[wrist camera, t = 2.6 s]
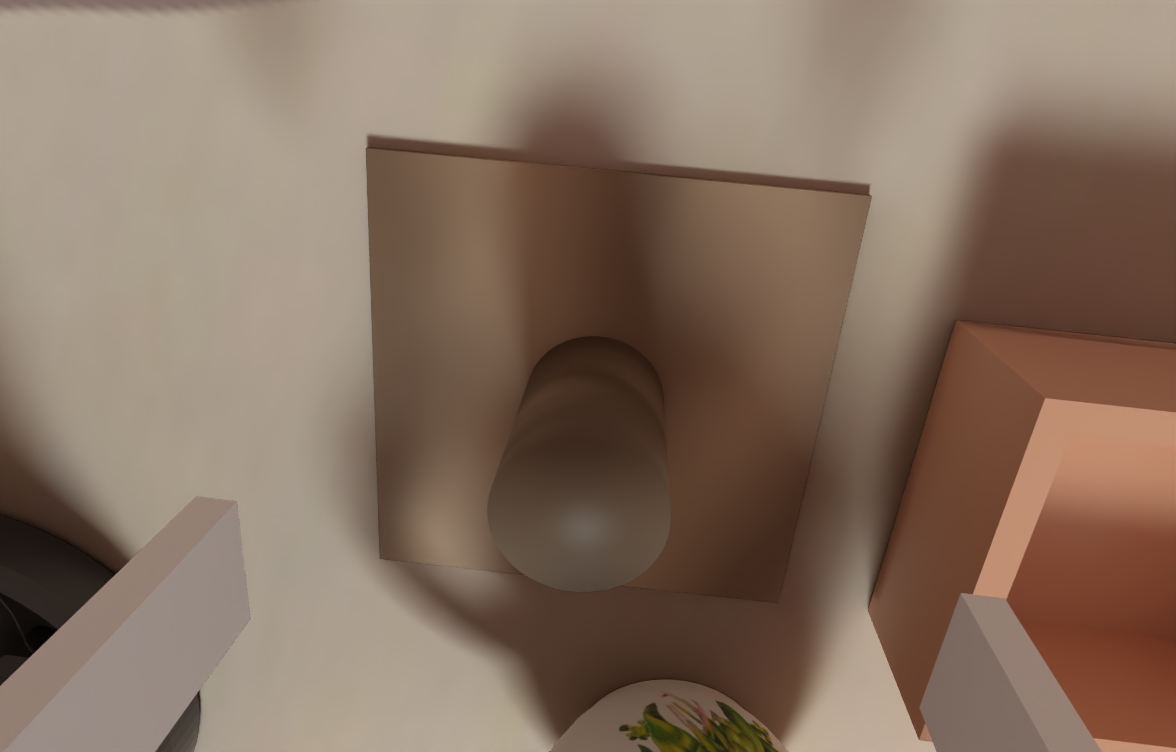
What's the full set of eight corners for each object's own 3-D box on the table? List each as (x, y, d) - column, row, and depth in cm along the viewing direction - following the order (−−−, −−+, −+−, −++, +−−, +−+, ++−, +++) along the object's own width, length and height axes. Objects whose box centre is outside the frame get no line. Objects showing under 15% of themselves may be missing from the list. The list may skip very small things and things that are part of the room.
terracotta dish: (868, 610, 24) (918, 740, 20) (955, 320, 20) (1045, 398, 16) (1181, 647, 24) (1306, 787, 20) (1333, 360, 20) (1536, 451, 16)
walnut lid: (387, 544, 25) (304, 704, 19) (376, 144, 20) (256, 186, 14) (773, 586, 25) (816, 764, 19) (863, 191, 20) (964, 255, 14)
